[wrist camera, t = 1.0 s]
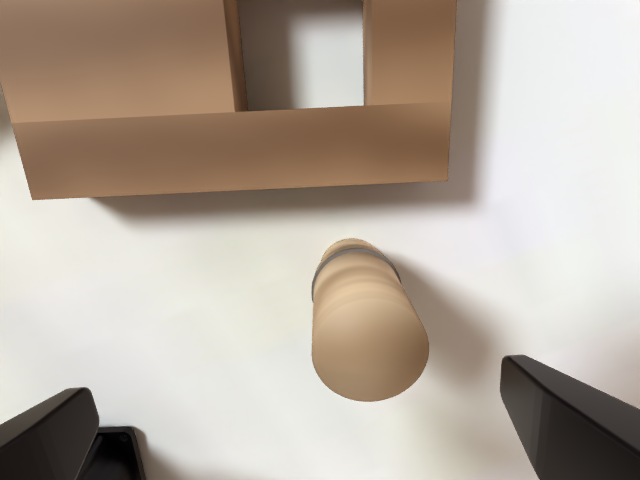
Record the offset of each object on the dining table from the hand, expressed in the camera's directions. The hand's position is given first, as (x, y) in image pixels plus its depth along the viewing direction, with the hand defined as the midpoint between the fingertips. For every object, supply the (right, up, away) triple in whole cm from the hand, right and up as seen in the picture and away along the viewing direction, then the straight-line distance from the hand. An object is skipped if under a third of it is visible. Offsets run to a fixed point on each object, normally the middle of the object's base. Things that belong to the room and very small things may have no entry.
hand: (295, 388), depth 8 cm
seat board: (-3, +12, +9) cm, 15 cm away
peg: (+2, +2, +12) cm, 13 cm away
